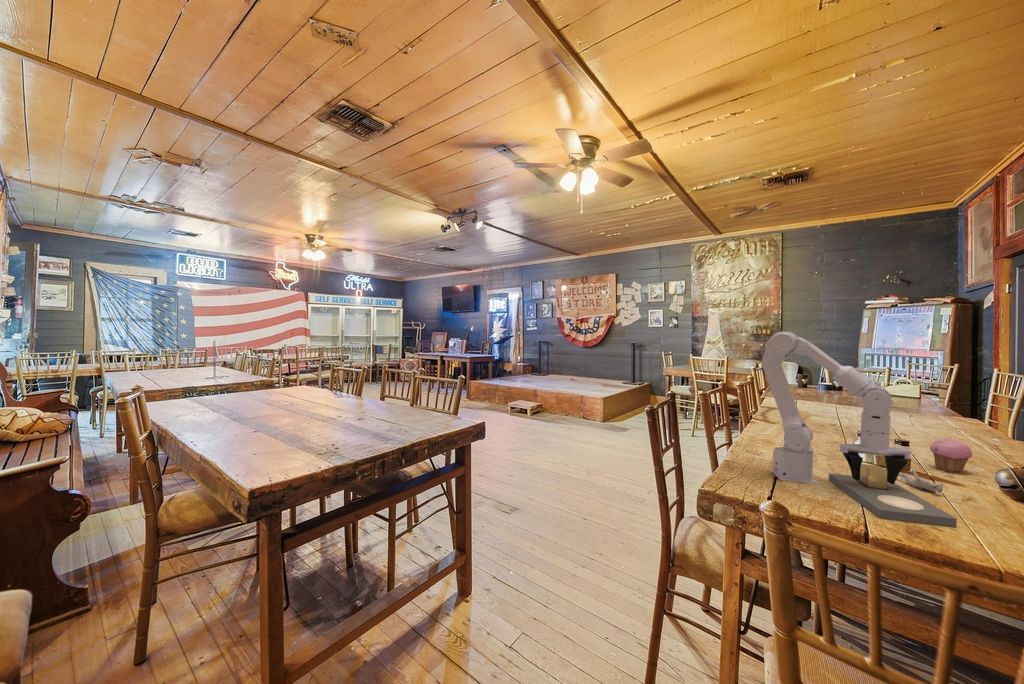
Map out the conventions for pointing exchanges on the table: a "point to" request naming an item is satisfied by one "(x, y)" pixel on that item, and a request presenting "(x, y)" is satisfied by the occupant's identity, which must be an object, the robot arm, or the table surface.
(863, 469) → the brass post
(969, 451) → the cupcake
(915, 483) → the soldier figure
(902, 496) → the board
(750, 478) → the table surface
